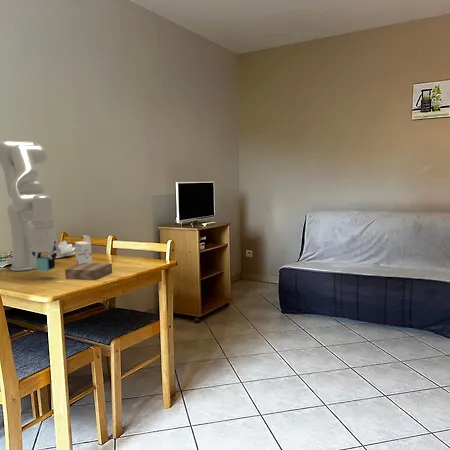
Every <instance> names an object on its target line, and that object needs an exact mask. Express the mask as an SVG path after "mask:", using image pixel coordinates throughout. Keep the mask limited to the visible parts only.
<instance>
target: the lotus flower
mask: <svg viewBox="0 0 450 450" xmlns="http://www.w3.org/2000/svg"><path fill="white" fill-rule="evenodd" d="M58 247H59V248H60V250H61V252H60V253H59V254H58V255H57V256H56V258H55V259H59V258H63V257H68V256H69V257H71V256H74V255H76V252H75V246H73V244H72V243H68V242H67V241H66V240H63V241H61V242H59V243H58ZM54 252H56V251H54Z"/></svg>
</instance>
